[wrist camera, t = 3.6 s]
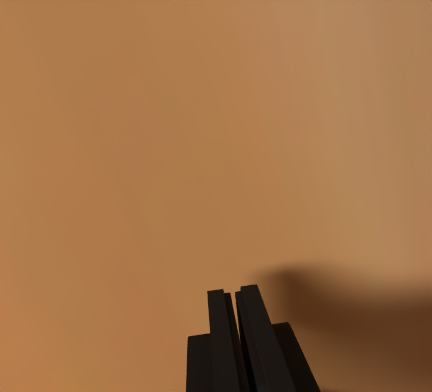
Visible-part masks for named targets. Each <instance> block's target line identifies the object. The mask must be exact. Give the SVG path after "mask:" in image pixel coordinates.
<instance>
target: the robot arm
mask: <svg viewBox="0 0 432 392" xmlns="http://www.w3.org/2000/svg"><path fill="white" fill-rule="evenodd" d="M207 294H208V308H209V322H210V333H209V334H202V335H195V336H188V346H187V378H186V392H320V389H319V387H318V385H317V383H316V381H315V378H314V376H313V374H312V372H311V370H310V367H309V365H308V363H307V361H306V359H305V356H304V354H303V352H302V350H301V348H300V345H299V343H298V341H297V339H296V337H295V335H294V332H293V330H292V328H291V326H290V324H289V323H288V322H285V323H278V324H271V321H270V319H269V316H268V313H267V310H266V308H265V305H264V302H263V300H262V297H261V294H260V291H259V289H258V286H257V285H248V286H241V291H238V292H235V297H236V307H237V316H238V325H239V334H240V339H239V334H238V329H237V324H236V319H235V314H234V309H233V304H232V299H231V294H230V293H224V291H223V289H220V290H212V291H207ZM240 343H241V344H240Z"/></svg>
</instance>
